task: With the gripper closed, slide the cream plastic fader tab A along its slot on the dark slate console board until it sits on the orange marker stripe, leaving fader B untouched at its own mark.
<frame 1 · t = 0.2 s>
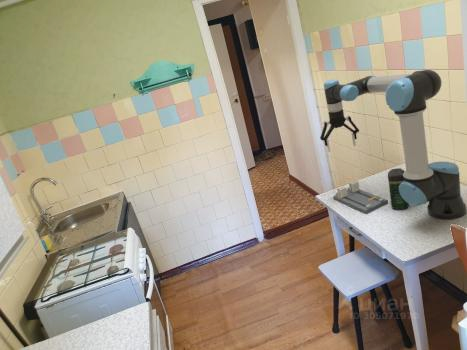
hand: (341, 148, 202), 27 cm above the table, fingers open, 13 cm apart
fader A: (354, 186, 205), point 5 cm above the table, slide at 0.0 cm
fader B: (342, 191, 203), point 5 cm above the table, slide at 0.0 cm
coffee jar: (400, 205, 184), on the table
console: (359, 201, 198), on the table
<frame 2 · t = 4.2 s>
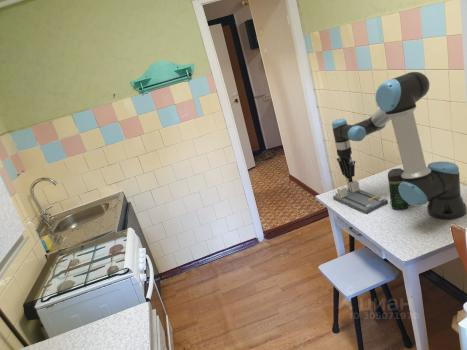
hand: (350, 187, 208), 4 cm above the table, fingers closed
fader A: (354, 186, 205), point 5 cm above the table, slide at 0.0 cm, touching gripper
everything else where it was.
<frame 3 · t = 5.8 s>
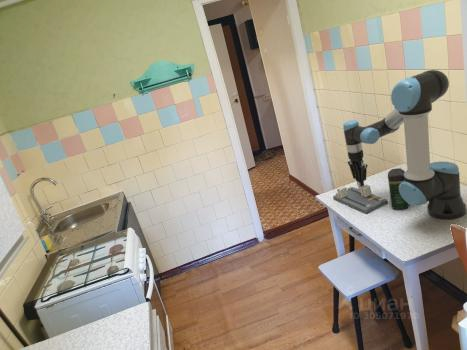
hand: (361, 191, 200), 4 cm above the table, fingers closed
fader A: (365, 190, 197), point 5 cm above the table, slide at 9.3 cm, touching gripper
everything else where it was.
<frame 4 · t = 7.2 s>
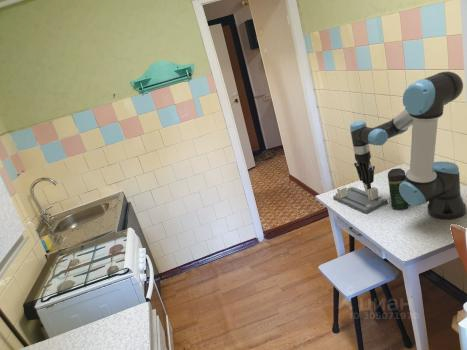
hand: (368, 194, 195), 4 cm above the table, fingers closed
fader A: (372, 193, 192), point 5 cm above the table, slide at 14.5 cm, touching gripper
everything else where it was.
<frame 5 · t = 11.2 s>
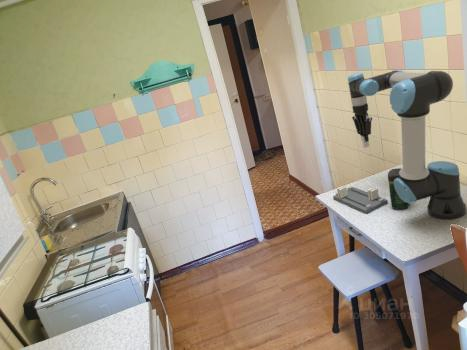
hand: (366, 146, 201), 24 cm above the table, fingers closed
fader A: (373, 193, 192), point 5 cm above the table, slide at 14.7 cm
everything else where it was.
at the end: fader A slide at 14.7 cm; fader B moved 0.0 cm from its start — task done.
